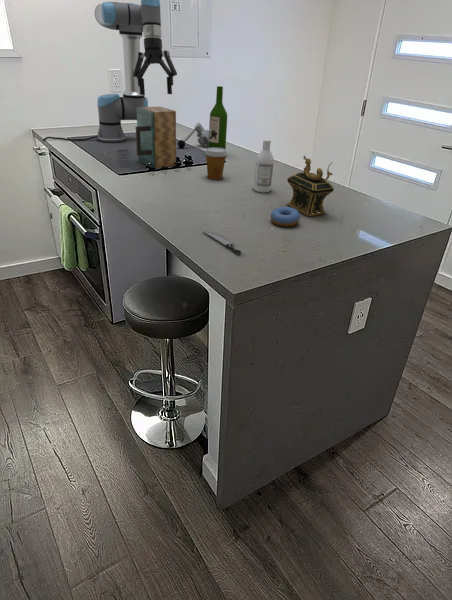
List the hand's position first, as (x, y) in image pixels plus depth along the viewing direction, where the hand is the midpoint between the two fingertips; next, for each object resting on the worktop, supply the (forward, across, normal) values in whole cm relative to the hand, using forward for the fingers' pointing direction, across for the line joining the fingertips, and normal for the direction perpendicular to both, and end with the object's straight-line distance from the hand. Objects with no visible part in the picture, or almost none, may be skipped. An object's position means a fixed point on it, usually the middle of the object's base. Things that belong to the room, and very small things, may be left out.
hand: (156, 94), depth 188 cm
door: (+30, -9, -3) cm, 31 cm away
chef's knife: (+45, +58, -64) cm, 97 cm away
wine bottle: (+28, +13, +37) cm, 48 cm away
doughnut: (+43, +70, -38) cm, 91 cm away
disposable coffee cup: (+34, +28, -2) cm, 44 cm away
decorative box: (+42, +74, -22) cm, 88 cm away
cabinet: (+29, -4, +5) cm, 30 cm away
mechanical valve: (+24, -4, +47) cm, 53 cm away
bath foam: (+38, +52, -8) cm, 64 cm away
